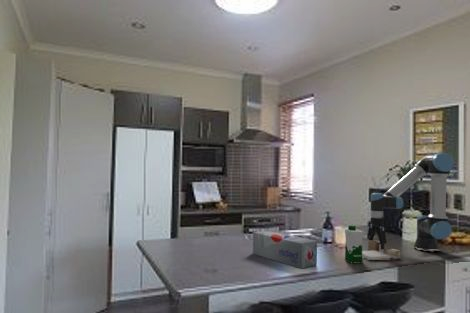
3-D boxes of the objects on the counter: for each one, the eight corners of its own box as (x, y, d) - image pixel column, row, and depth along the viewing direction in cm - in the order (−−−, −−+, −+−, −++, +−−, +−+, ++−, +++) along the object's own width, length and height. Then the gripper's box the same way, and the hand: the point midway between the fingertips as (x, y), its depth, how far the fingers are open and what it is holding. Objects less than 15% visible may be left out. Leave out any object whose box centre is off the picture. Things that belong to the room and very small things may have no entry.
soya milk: (355, 259, 211) (356, 225, 211) (365, 263, 202) (365, 227, 203) (342, 260, 208) (343, 225, 209) (351, 264, 200) (352, 228, 200)
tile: (376, 254, 224) (376, 250, 224) (390, 260, 211) (390, 256, 211) (356, 255, 221) (356, 251, 221) (369, 261, 207) (369, 256, 208)
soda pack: (317, 266, 195) (318, 240, 195) (301, 269, 187) (302, 243, 187) (267, 251, 227) (267, 229, 228) (251, 253, 219) (252, 231, 220)
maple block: (392, 257, 219) (392, 248, 219) (399, 258, 215) (399, 250, 215) (387, 258, 216) (387, 249, 216) (394, 259, 212) (395, 251, 212)
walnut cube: (377, 251, 233) (378, 240, 233) (384, 254, 226) (384, 243, 226) (368, 251, 231) (368, 240, 232) (374, 254, 225) (375, 243, 225)
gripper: (361, 214, 239) (361, 248, 239) (382, 219, 218) (381, 256, 217) (371, 214, 241) (371, 248, 240) (393, 219, 219) (392, 256, 219)
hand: (376, 252), depth 229 cm, fingers open, 10 cm apart
